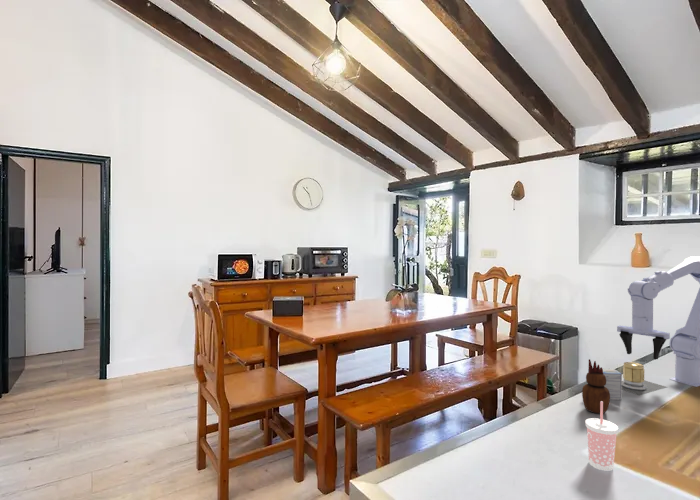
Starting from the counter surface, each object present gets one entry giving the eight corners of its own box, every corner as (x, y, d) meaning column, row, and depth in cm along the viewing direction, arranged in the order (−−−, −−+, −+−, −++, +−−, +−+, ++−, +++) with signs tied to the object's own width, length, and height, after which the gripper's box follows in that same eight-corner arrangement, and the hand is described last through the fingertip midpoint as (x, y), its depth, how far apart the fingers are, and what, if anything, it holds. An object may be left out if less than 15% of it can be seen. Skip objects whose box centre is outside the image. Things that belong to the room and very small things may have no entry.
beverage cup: (587, 454, 91) (587, 394, 91) (619, 463, 88) (620, 400, 87) (582, 465, 87) (583, 402, 86) (616, 476, 83) (616, 409, 83)
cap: (620, 378, 134) (620, 363, 133) (629, 375, 136) (630, 361, 136) (637, 383, 129) (637, 368, 129) (647, 380, 131) (647, 365, 131)
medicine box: (613, 395, 126) (614, 368, 126) (621, 401, 122) (622, 373, 121) (587, 394, 127) (587, 367, 127) (594, 400, 122) (595, 372, 122)
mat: (635, 378, 141) (635, 377, 141) (667, 388, 132) (667, 387, 132) (606, 385, 134) (606, 384, 134) (639, 396, 125) (639, 395, 125)
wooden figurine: (582, 412, 114) (583, 360, 113) (581, 405, 119) (582, 355, 118) (610, 417, 110) (611, 363, 110) (608, 409, 116) (609, 358, 115)
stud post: (628, 381, 137) (628, 366, 137) (651, 388, 131) (651, 372, 131) (616, 385, 134) (616, 368, 134) (638, 392, 128) (638, 375, 128)
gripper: (613, 314, 138) (613, 353, 139) (664, 321, 127) (664, 363, 127) (621, 312, 143) (621, 350, 143) (672, 318, 131) (671, 359, 131)
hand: (642, 356), depth 135 cm, fingers open, 7 cm apart
